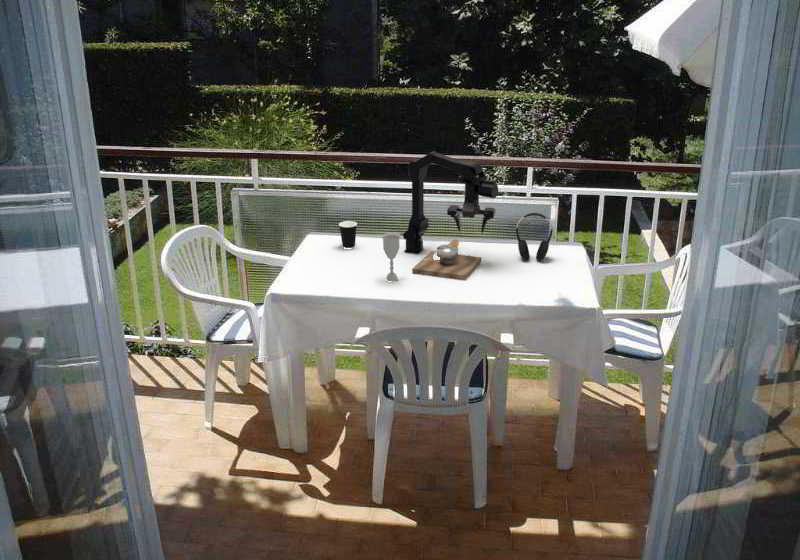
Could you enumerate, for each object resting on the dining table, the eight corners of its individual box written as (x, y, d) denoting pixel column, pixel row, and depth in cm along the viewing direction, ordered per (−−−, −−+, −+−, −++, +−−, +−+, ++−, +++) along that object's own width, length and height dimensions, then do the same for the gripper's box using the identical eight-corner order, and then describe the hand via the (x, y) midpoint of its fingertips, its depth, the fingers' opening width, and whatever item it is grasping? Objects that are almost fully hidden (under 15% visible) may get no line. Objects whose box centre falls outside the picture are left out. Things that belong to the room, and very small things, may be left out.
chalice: (387, 284, 296) (386, 239, 290) (379, 278, 302) (378, 234, 295) (404, 280, 299) (403, 236, 293) (396, 275, 305) (395, 231, 298)
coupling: (454, 259, 305) (454, 252, 304) (434, 257, 308) (434, 249, 307) (465, 247, 318) (466, 240, 317) (446, 245, 321) (446, 238, 320)
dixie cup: (361, 247, 336) (360, 223, 332) (347, 252, 331) (346, 227, 327) (349, 243, 341) (348, 219, 337) (336, 248, 336) (334, 223, 332)
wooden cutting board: (412, 273, 307) (412, 261, 305) (431, 255, 325) (431, 244, 324) (465, 280, 299) (465, 268, 297) (481, 261, 318) (481, 250, 316)
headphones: (550, 264, 314) (553, 216, 307) (514, 262, 317) (516, 215, 309) (550, 256, 322) (553, 210, 315) (515, 255, 325) (517, 209, 317)
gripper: (444, 198, 302) (444, 236, 308) (492, 201, 297) (490, 240, 303) (450, 191, 312) (449, 228, 318) (496, 194, 307) (494, 231, 313)
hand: (470, 231), depth 313 cm, fingers open, 9 cm apart
